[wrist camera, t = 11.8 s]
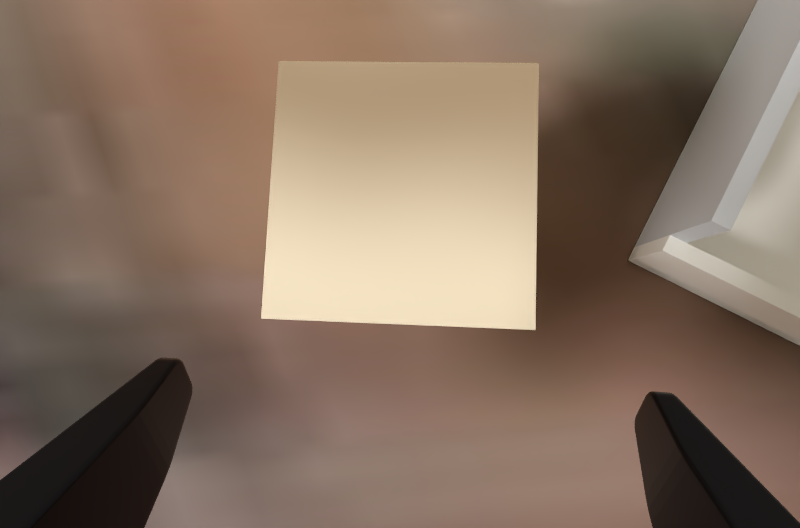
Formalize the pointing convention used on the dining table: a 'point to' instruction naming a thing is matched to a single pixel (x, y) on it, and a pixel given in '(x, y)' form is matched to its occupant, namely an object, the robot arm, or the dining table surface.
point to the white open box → (740, 184)
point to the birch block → (404, 194)
